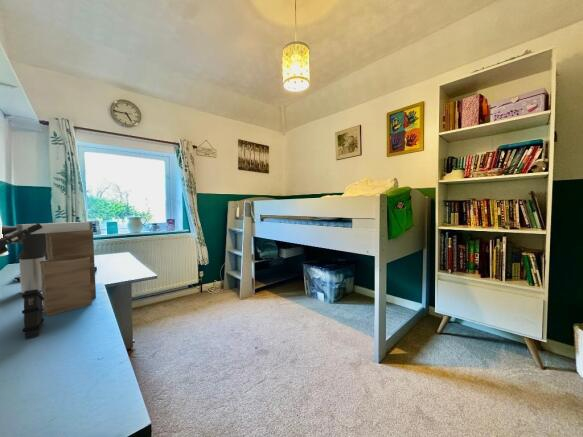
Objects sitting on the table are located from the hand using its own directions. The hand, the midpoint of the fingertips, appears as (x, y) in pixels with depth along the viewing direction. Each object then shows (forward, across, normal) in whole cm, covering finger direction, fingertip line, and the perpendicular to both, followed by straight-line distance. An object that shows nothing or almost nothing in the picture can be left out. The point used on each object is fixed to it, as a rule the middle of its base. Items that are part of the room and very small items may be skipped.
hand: (39, 225), depth 104 cm
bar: (+3, 0, +6) cm, 7 cm away
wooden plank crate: (-11, -4, +34) cm, 36 cm away
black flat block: (-23, -27, +28) cm, 45 cm away
